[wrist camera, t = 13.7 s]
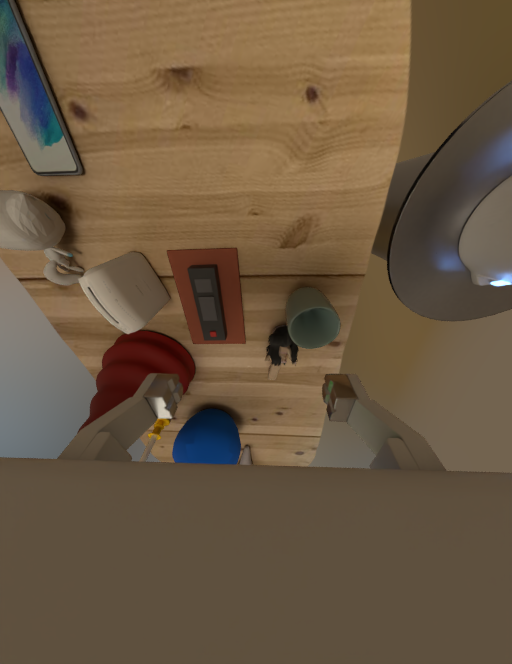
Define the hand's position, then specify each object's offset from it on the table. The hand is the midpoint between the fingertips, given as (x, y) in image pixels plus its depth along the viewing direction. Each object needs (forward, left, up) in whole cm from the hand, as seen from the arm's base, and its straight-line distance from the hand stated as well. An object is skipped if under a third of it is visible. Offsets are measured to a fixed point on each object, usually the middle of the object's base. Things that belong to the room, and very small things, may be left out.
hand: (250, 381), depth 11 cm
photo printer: (+21, +3, -27) cm, 35 cm away
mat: (+10, +8, -27) cm, 30 cm away
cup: (-8, +8, -27) cm, 30 cm away
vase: (+16, +48, -27) cm, 57 cm away
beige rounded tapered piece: (+34, -4, -27) cm, 44 cm away
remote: (+10, +8, -27) cm, 29 cm away
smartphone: (+28, -20, -27) cm, 44 cm away
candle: (+34, +50, -27) cm, 66 cm away
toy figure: (-4, +20, -27) cm, 34 cm away
